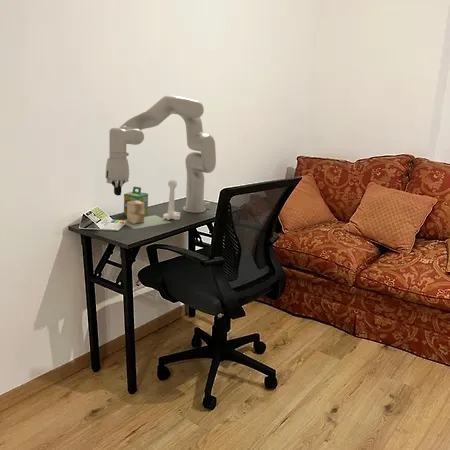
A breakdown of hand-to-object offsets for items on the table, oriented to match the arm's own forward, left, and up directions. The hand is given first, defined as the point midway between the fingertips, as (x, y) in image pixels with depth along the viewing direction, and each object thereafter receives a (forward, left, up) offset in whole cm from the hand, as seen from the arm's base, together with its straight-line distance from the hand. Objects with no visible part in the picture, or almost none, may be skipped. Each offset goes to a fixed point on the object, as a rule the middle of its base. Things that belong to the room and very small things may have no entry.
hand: (117, 194), depth 222 cm
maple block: (-9, 0, -15) cm, 18 cm away
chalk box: (-16, -12, -15) cm, 26 cm away
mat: (-14, +1, -15) cm, 21 cm away
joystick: (-29, +3, -15) cm, 33 cm away
